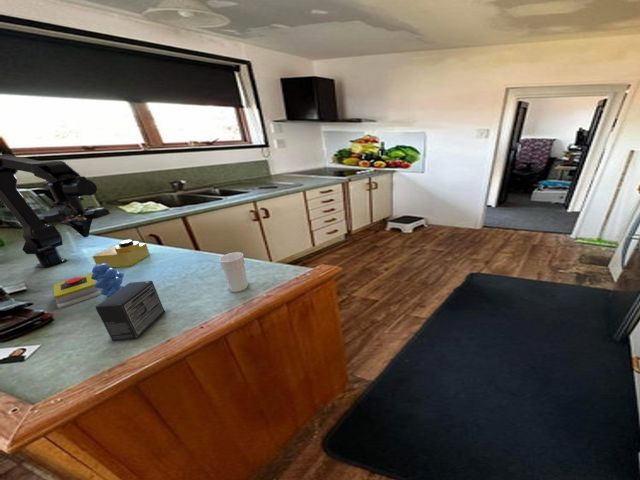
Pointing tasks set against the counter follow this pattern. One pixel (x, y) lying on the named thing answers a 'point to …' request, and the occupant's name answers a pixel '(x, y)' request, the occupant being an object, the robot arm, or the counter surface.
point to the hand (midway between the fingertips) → (86, 237)
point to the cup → (234, 271)
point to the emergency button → (75, 290)
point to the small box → (130, 310)
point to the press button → (126, 243)
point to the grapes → (107, 279)
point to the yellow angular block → (122, 255)
